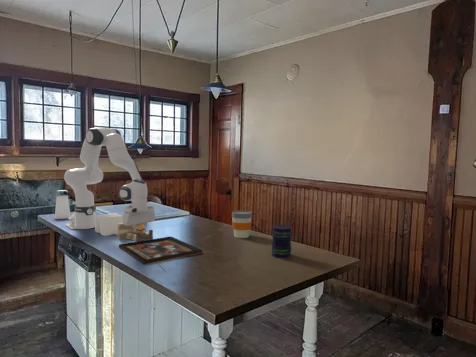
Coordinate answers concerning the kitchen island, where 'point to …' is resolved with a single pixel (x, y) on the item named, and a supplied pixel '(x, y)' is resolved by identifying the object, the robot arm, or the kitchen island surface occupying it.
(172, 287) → the kitchen island surface
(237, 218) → the reusable coffee cup
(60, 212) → the grater
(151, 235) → the wooden trestle bench
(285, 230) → the storage jar
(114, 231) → the cable organizer
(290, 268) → the kitchen island surface
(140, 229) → the banded tan cylinder
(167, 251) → the framed icon painting
